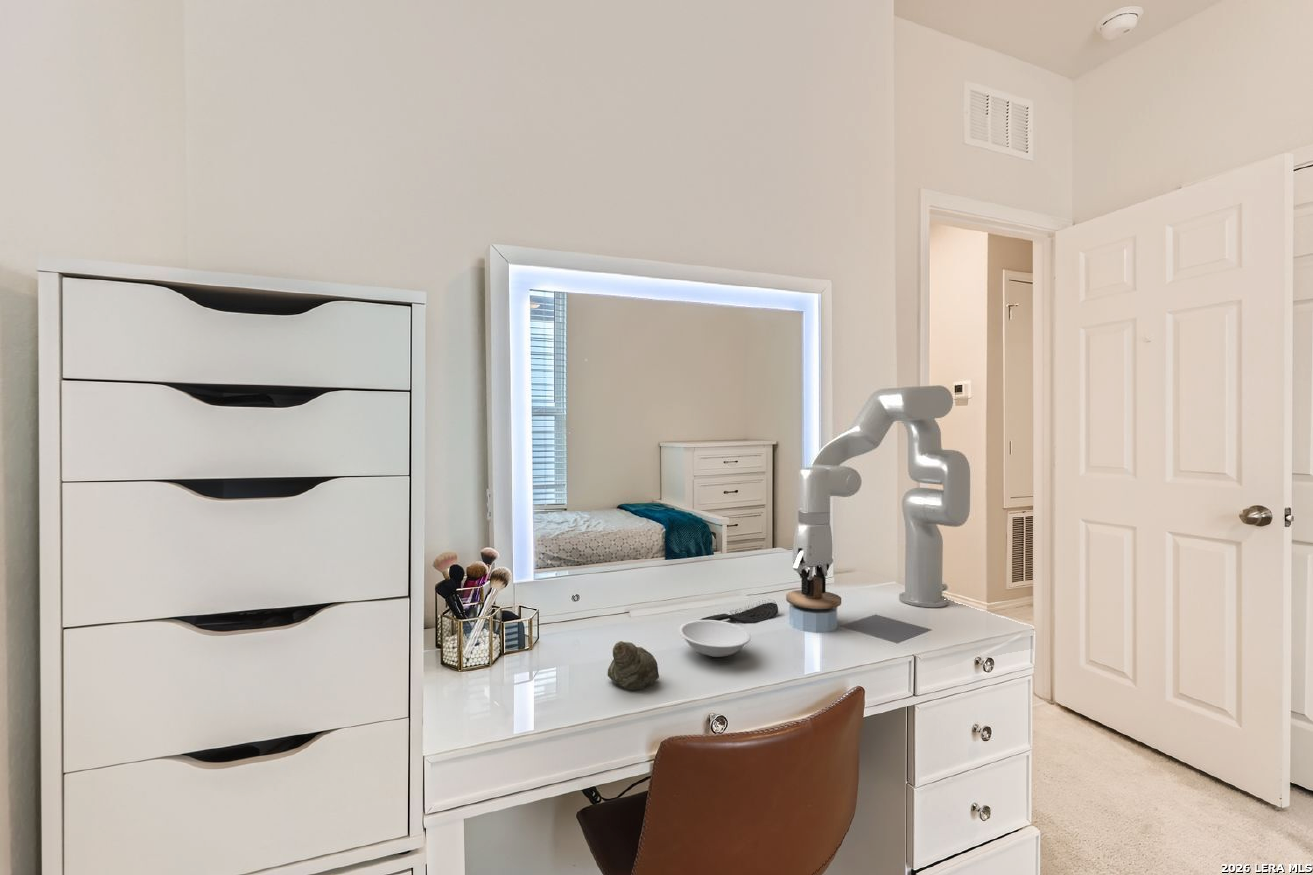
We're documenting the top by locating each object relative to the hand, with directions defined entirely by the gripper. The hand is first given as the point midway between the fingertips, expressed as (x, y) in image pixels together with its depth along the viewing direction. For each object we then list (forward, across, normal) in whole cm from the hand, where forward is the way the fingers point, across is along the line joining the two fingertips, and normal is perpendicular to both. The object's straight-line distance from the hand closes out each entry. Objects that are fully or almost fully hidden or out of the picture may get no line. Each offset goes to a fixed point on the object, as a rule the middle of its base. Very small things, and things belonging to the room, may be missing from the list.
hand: (813, 592), depth 151 cm
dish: (+8, +32, -1) cm, 33 cm away
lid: (+2, 0, 0) cm, 2 cm away
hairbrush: (+9, +12, -15) cm, 21 cm away
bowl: (+8, 0, 0) cm, 8 cm away
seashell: (+9, +52, 0) cm, 53 cm away
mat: (+8, -12, +12) cm, 19 cm away
